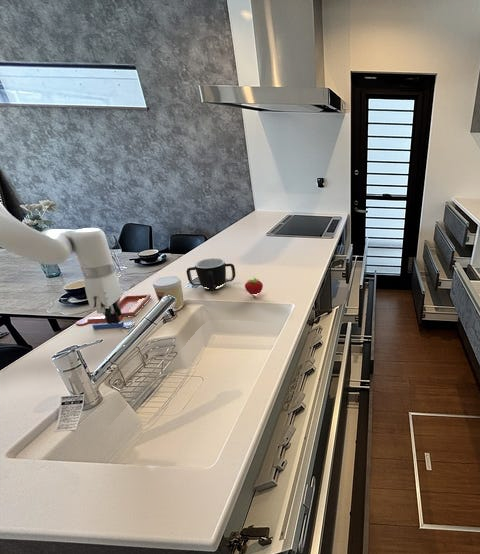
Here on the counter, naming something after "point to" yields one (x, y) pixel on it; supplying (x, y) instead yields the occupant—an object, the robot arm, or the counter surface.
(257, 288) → the strawberry
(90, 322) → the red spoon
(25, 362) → the counter surface
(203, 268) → the mug
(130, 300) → the red tray
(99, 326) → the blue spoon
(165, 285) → the coffee cup
